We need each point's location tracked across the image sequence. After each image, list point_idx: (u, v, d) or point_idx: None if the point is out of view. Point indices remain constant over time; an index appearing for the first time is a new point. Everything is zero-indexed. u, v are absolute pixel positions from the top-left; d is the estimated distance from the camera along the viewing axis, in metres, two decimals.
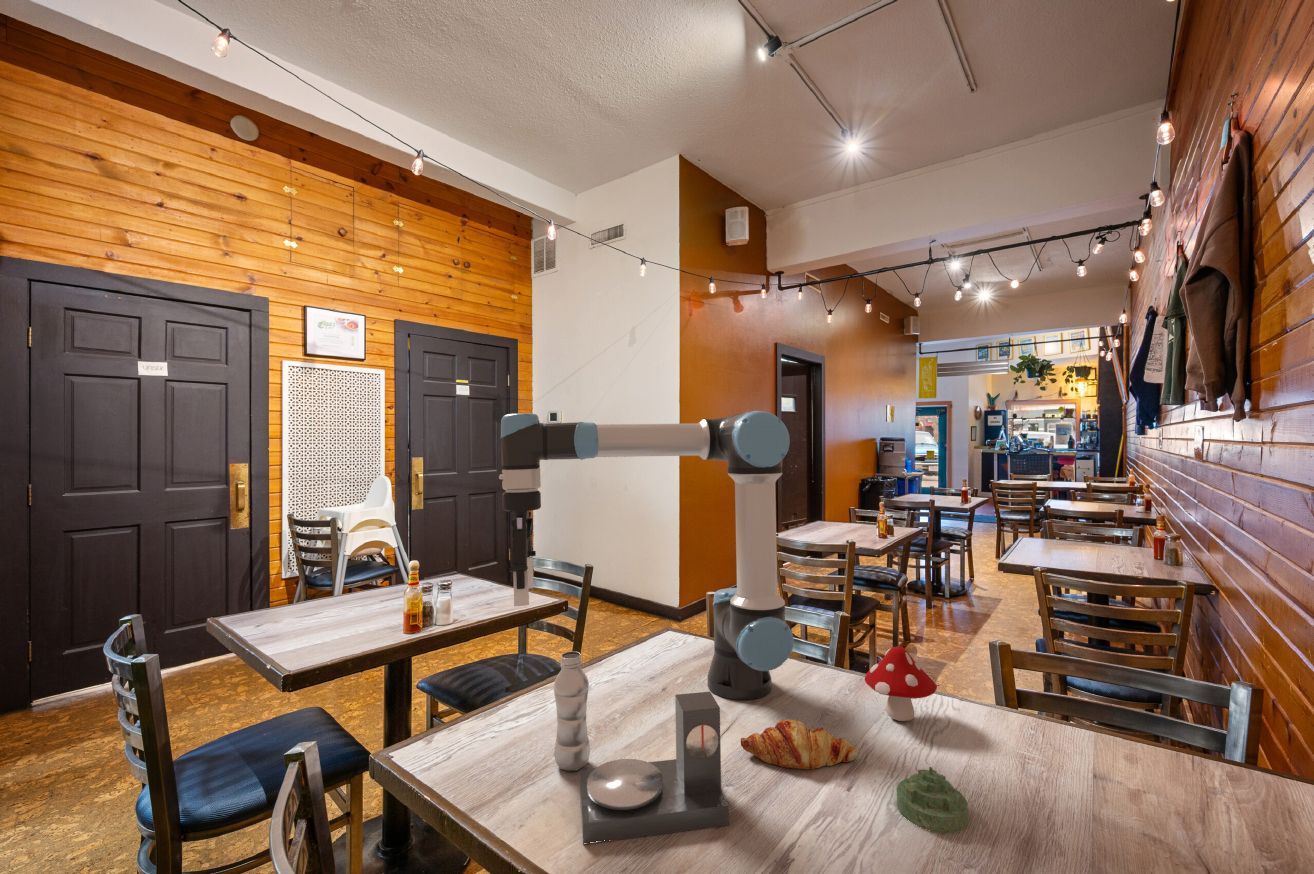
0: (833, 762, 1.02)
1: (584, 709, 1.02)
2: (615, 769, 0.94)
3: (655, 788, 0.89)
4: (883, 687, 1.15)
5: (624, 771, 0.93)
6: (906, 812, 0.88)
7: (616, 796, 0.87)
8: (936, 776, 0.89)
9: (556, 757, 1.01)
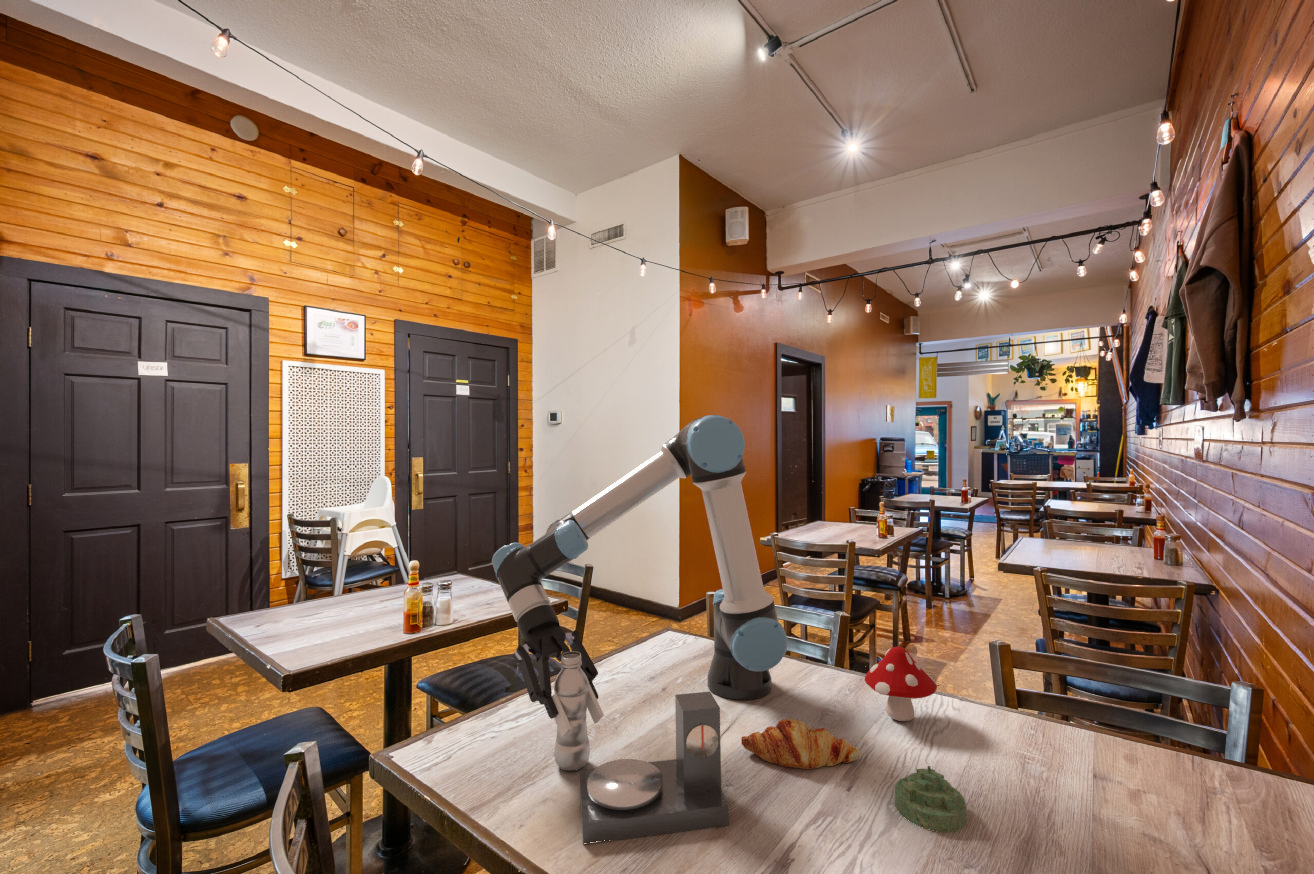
0: (833, 762, 1.02)
1: (584, 709, 1.02)
2: (615, 769, 0.94)
3: (655, 788, 0.89)
4: (883, 687, 1.15)
5: (624, 771, 0.93)
6: (904, 811, 0.88)
7: (616, 796, 0.87)
8: (934, 775, 0.89)
9: (556, 757, 1.01)
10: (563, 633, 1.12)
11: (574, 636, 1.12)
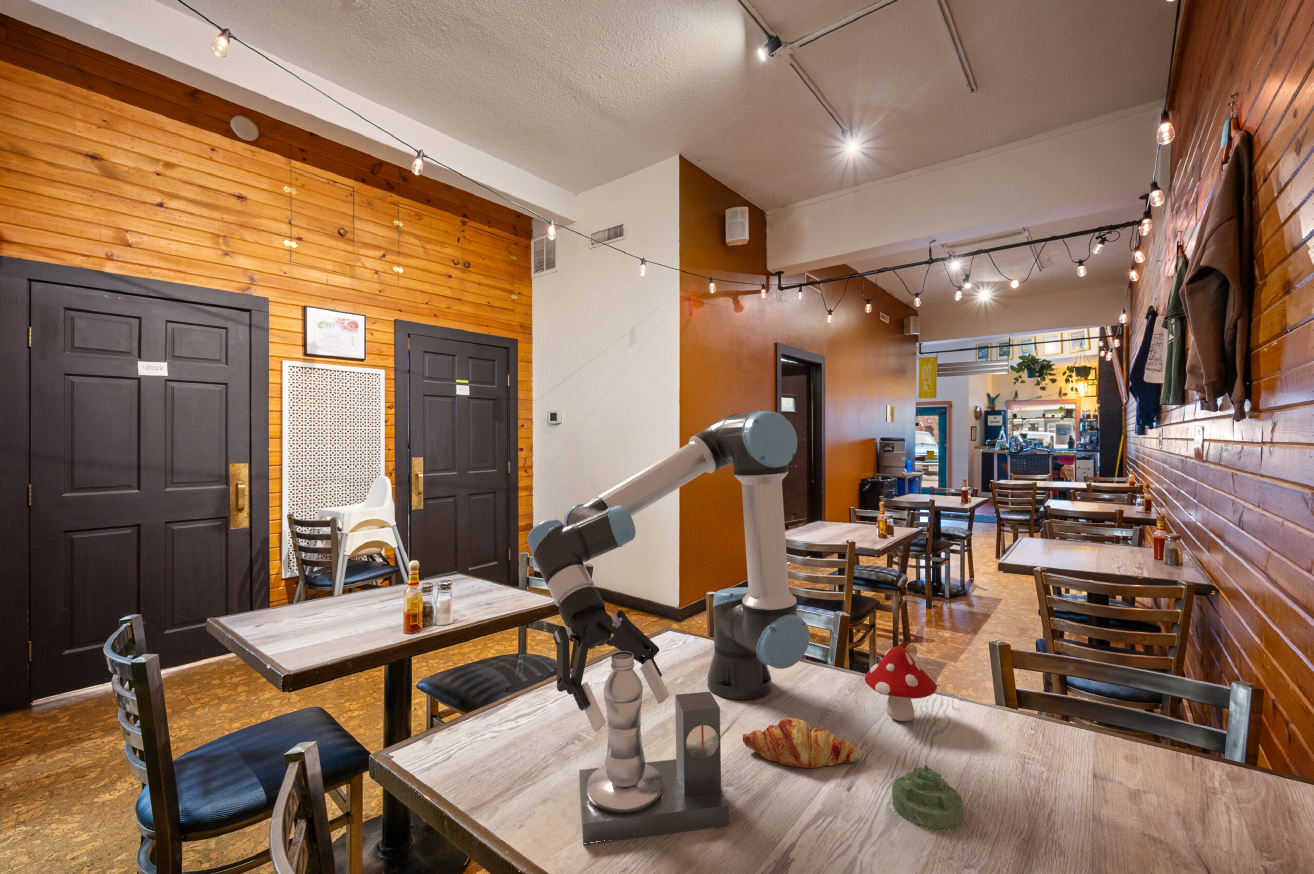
0: (833, 762, 1.02)
1: (639, 716, 0.90)
2: None
3: (655, 790, 0.89)
4: (883, 687, 1.15)
5: None
6: (901, 810, 0.88)
7: (616, 798, 0.87)
8: (931, 774, 0.89)
9: (608, 771, 0.89)
10: (610, 618, 0.99)
11: (621, 617, 1.01)
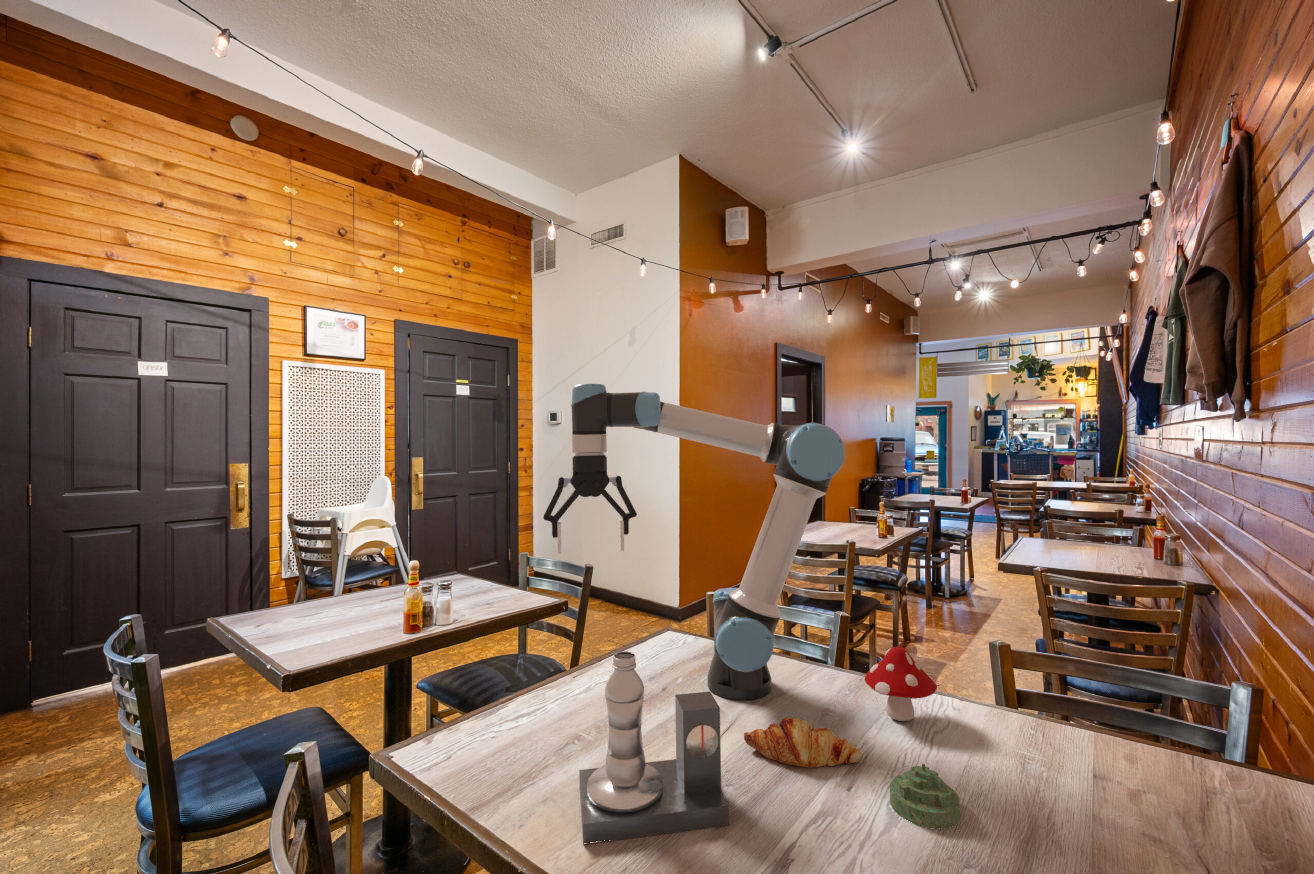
0: (834, 762, 1.01)
1: (640, 717, 0.90)
2: None
3: (655, 790, 0.89)
4: (883, 687, 1.15)
5: None
6: (899, 808, 0.88)
7: (616, 798, 0.87)
8: (929, 773, 0.90)
9: (608, 771, 0.89)
10: (606, 480, 1.25)
11: (616, 482, 1.25)
